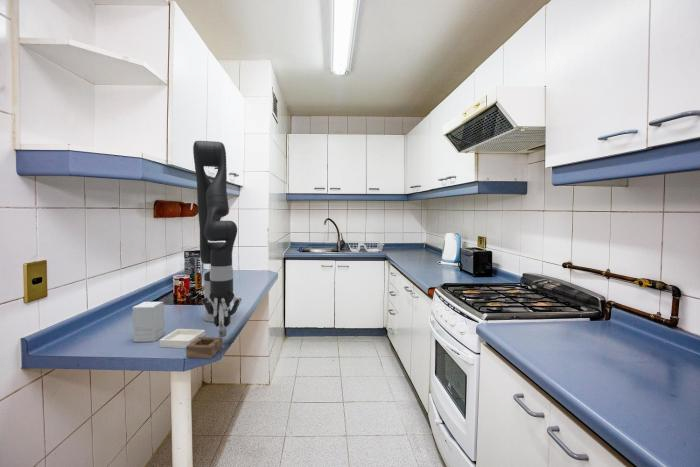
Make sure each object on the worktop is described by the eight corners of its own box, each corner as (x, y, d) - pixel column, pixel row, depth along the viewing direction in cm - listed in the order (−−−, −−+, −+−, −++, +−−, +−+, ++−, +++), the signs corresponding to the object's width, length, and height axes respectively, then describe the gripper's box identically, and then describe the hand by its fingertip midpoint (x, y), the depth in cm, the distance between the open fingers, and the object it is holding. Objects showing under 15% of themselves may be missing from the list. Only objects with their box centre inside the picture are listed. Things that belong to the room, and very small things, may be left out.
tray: (177, 335, 121) (177, 328, 121) (205, 336, 120) (205, 329, 120) (159, 347, 110) (159, 339, 110) (189, 348, 110) (189, 341, 110)
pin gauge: (220, 334, 116) (220, 301, 115) (227, 334, 116) (227, 301, 115) (217, 336, 114) (216, 303, 113) (224, 337, 114) (224, 303, 113)
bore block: (199, 347, 111) (199, 337, 111) (222, 347, 110) (222, 337, 110) (186, 357, 103) (186, 346, 103) (210, 358, 102) (210, 347, 102)
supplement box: (165, 334, 122) (164, 301, 121) (154, 342, 115) (153, 307, 114) (145, 334, 122) (144, 301, 121) (132, 342, 114) (131, 306, 114)
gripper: (245, 276, 117) (245, 322, 118) (207, 274, 117) (208, 321, 119) (237, 280, 109) (237, 330, 111) (196, 279, 110) (197, 329, 111)
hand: (222, 325), depth 115 cm, fingers closed on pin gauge, 2 cm apart
